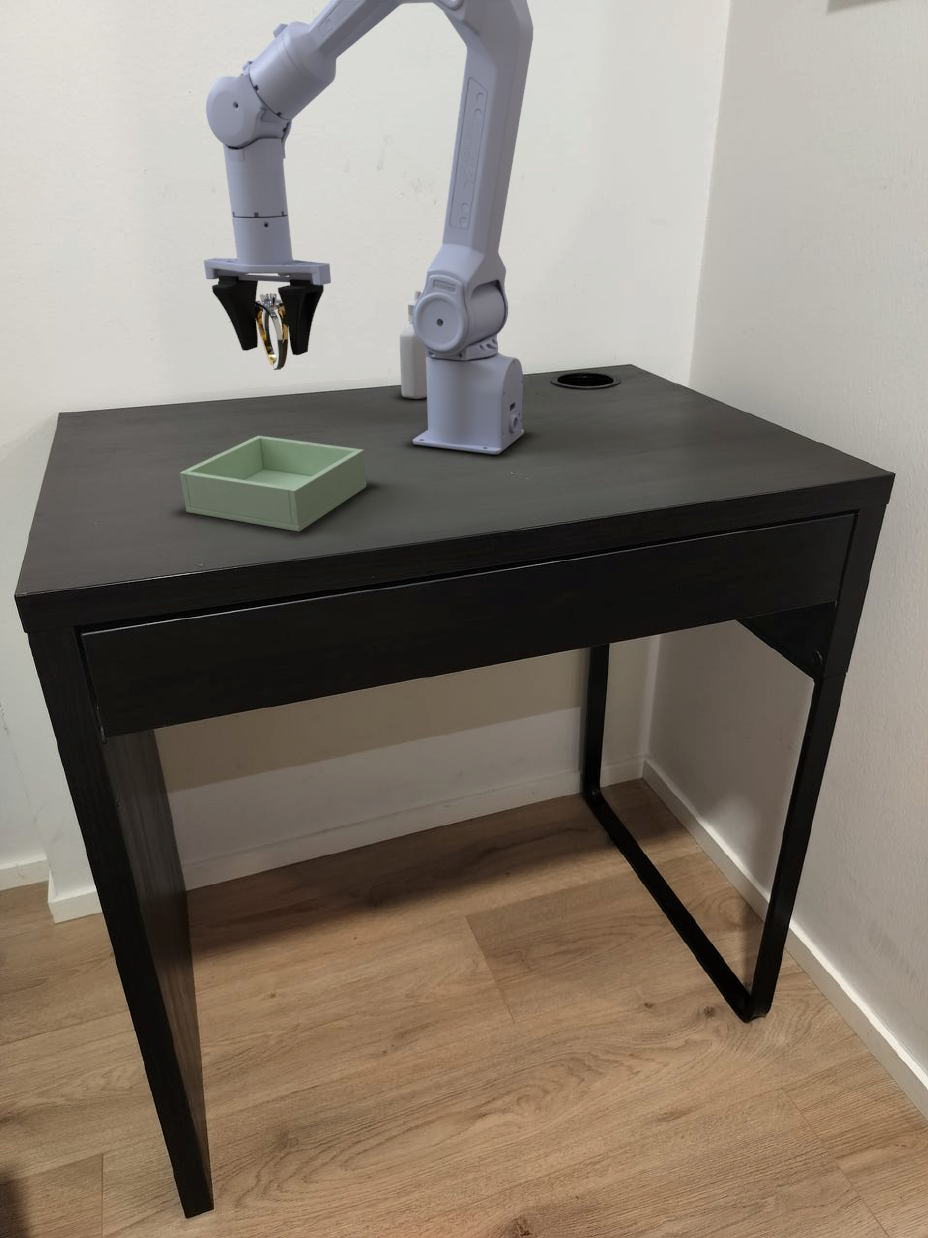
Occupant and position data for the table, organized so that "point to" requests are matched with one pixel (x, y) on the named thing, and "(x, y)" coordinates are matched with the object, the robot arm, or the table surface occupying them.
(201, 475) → the bin
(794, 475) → the table surface
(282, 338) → the ring
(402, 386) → the eye dropper bottle
